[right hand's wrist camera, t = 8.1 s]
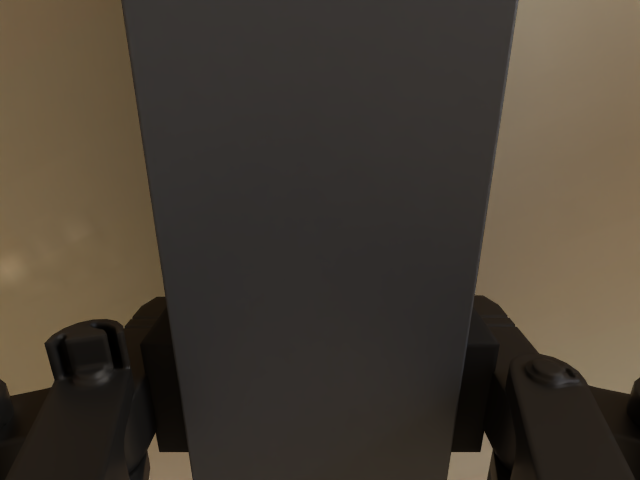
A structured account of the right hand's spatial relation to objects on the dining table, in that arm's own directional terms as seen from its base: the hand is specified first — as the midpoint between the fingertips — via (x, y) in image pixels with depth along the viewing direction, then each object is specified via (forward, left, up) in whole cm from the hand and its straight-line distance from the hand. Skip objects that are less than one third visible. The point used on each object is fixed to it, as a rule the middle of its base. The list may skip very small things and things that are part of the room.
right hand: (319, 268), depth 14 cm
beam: (+8, +24, 0) cm, 26 cm away
